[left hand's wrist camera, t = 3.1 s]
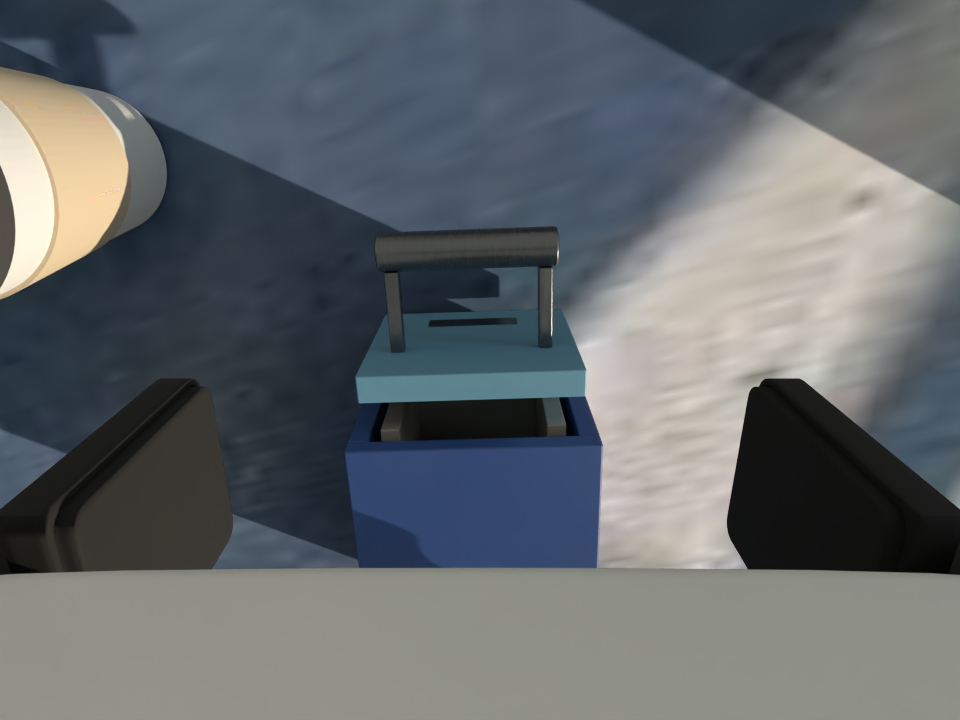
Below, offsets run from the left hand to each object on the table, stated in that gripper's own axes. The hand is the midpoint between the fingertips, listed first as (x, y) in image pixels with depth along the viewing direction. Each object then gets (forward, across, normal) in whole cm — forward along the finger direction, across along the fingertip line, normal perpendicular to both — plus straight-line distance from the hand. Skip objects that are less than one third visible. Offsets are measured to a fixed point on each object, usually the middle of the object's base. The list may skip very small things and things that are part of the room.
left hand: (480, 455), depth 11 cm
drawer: (+22, 0, +9) cm, 23 cm away
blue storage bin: (+23, 0, +15) cm, 27 cm away
